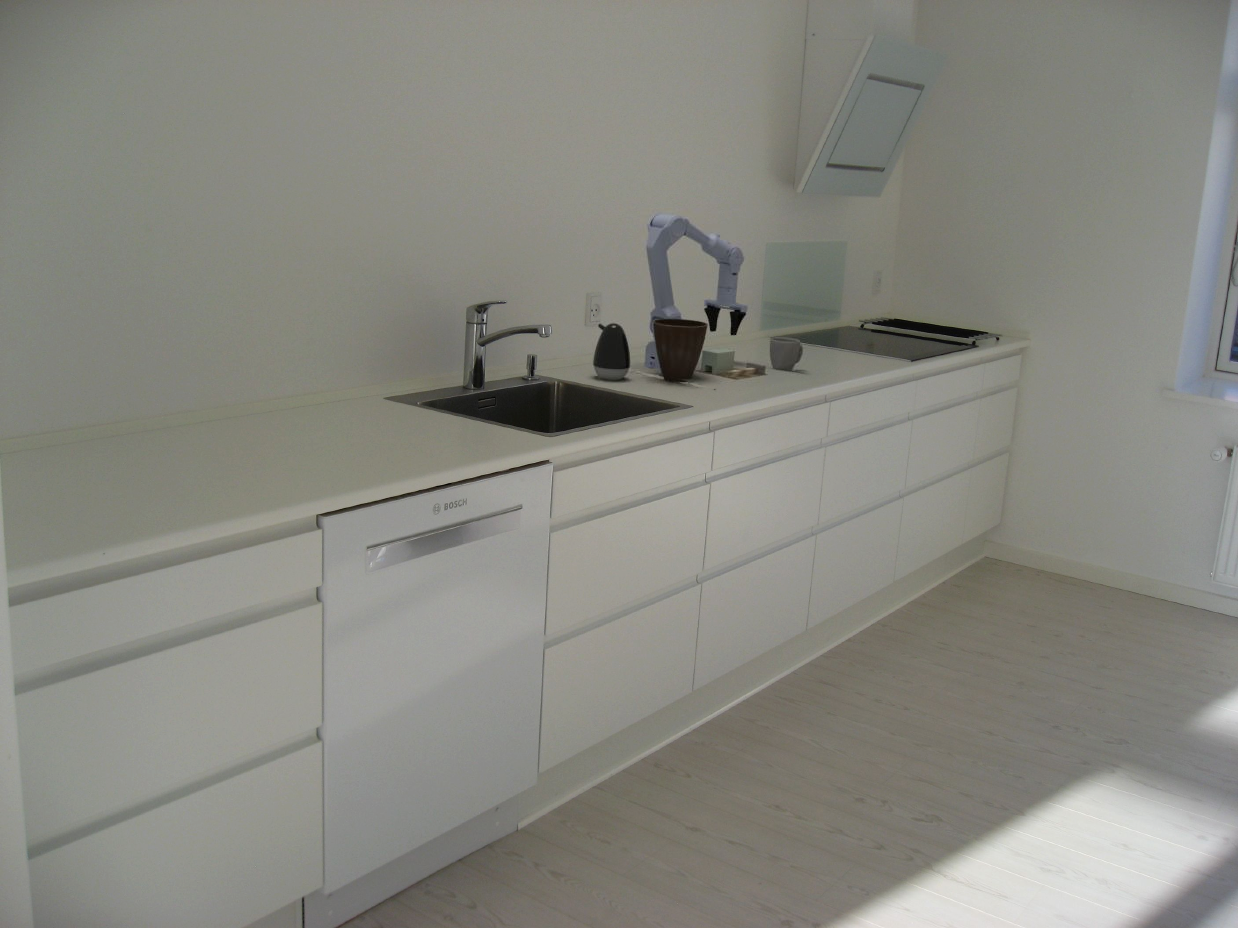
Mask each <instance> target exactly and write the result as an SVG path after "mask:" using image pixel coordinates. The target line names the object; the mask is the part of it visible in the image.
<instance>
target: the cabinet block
mask: <svg viewBox="0 0 1238 928" xmlns="http://www.w3.org/2000/svg"><path fill="white" fill-rule="evenodd" d="M735 352H736V350H732V349H727V348H721V347H717V348H709V349H702V351H701V363H700V370H701V371H703V372H707V371H712V373H713V374H720V373H725V372H726V371H733V368H734V366H735V365H734V364H735Z"/></svg>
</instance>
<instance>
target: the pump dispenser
mask: <svg viewBox="0 0 1238 928" xmlns="http://www.w3.org/2000/svg"><path fill="white" fill-rule="evenodd" d="M597 327H598V328H599V329H601V332H600V335H599V337H598V340H597V343H596V346H595V350H594V353H593V358H592V359H593V360H592V365H593V368H594V372H595V374H596V375H597V377H599V378H601V379H602V380H606V381H619V380H621V379H623V378H624V377H626V375H627V374H628V373H629V369H630V368H631V352H630V348H629V347H630V346H629V342H628V338H627V335H626V332H625V330H624V329H623V326H621V325H620V324H618V323H615V322H611V323H609V324H607V325H606V326H605V325H604V324H602V323H599V324H597Z"/></svg>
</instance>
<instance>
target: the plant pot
mask: <svg viewBox="0 0 1238 928" xmlns="http://www.w3.org/2000/svg"><path fill="white" fill-rule="evenodd" d="M653 326H654V337H655V344H656V350H657V356H658V360H659V364H660V368H661V370H660V371H661V375H662V378H663V380H664V381H667V382H672V383H687V382H688V381H686V380H689V379H692V377H693V375H694V372H696V369H697V365H698V363H699V360H700V358H701V355H702V350H703V347H704V344H705V340H706V336H707V335H706V334H707V330H708V326H709V323H707V322H705V321H704V322H703V321H700V320H694V319H693V320H692V319H686V318H685V319H684V318H682V319H658V320H654V321H653ZM654 337H653V338H654Z"/></svg>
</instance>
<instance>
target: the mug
mask: <svg viewBox="0 0 1238 928" xmlns="http://www.w3.org/2000/svg"><path fill="white" fill-rule="evenodd" d="M769 341H770V342H769V359H770V362H771V366H772V369H775V370H779V371H784V372H785V371H786V372H790V373H792V371H793V369H794V367H795V365H796V364H798V363H800V360H801V359H802V357H803V353H804V347H803V345H802V344H801V340H799V339H798V338H797V339H796V338H792V337H784V336H783V337H781V336H780V337H779V336H778V337H775V336H774V337H771V338H770V340H769Z"/></svg>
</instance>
